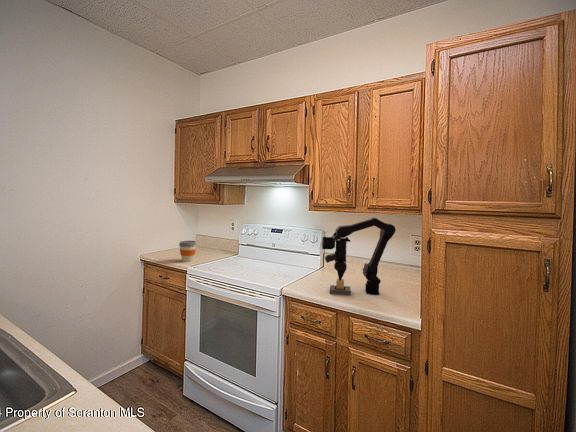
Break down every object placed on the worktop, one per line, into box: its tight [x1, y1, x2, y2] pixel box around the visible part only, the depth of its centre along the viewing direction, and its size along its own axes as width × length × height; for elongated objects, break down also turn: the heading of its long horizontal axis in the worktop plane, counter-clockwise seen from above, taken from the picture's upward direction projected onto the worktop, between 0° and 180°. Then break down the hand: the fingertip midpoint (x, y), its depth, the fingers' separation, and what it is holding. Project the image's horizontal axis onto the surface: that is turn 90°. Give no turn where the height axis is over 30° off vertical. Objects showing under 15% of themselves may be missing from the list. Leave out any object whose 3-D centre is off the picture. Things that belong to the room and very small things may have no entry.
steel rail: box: [329, 284, 351, 296], centre depth 158 cm, size 11×8×2 cm
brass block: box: [335, 278, 345, 290], centre depth 158 cm, size 4×4×7 cm
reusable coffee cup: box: [179, 240, 197, 263], centre depth 227 cm, size 13×13×15 cm
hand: (340, 277), depth 157 cm, fingers open, 9 cm apart
